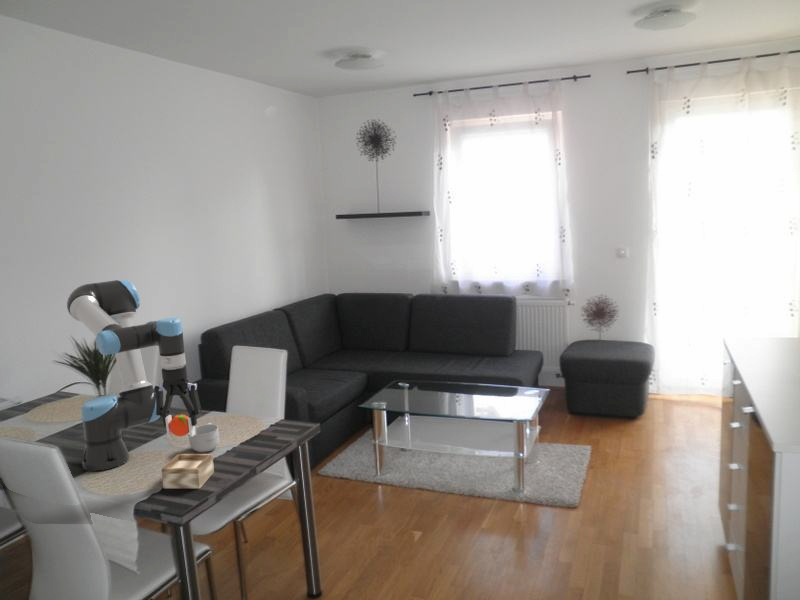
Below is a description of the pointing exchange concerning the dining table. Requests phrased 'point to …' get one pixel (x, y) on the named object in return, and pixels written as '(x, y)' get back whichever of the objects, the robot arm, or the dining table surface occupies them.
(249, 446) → the dining table surface
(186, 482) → the wooden box
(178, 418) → the tomato
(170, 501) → the dining table surface
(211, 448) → the teacup
